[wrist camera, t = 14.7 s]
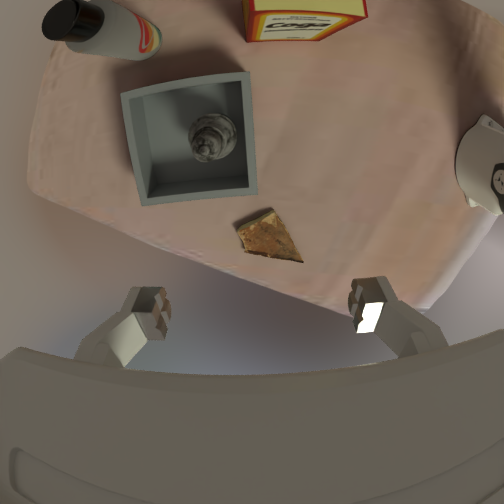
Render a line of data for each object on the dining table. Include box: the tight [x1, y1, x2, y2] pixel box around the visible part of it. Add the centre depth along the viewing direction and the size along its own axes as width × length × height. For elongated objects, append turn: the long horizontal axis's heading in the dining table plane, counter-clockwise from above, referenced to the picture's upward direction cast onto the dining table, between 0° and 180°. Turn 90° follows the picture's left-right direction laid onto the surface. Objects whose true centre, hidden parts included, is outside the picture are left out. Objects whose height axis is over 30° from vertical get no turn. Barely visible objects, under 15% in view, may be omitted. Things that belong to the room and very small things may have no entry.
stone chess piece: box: [188, 113, 237, 162], centre depth 28 cm, size 6×6×12 cm
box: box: [120, 72, 258, 206], centre depth 31 cm, size 15×15×6 cm
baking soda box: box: [242, 0, 368, 43], centre depth 18 cm, size 10×6×16 cm
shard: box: [237, 210, 304, 263], centre depth 44 cm, size 11×8×2 cm
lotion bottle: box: [42, 0, 162, 61], centre depth 17 cm, size 6×6×20 cm
